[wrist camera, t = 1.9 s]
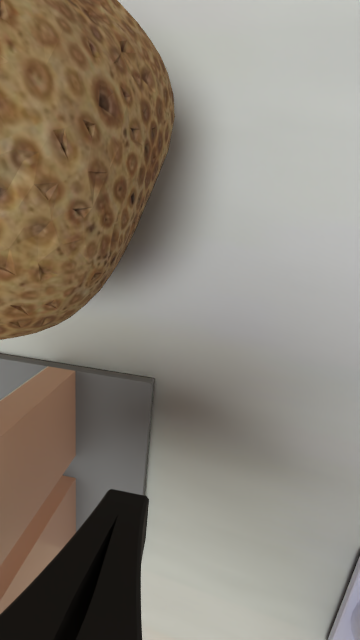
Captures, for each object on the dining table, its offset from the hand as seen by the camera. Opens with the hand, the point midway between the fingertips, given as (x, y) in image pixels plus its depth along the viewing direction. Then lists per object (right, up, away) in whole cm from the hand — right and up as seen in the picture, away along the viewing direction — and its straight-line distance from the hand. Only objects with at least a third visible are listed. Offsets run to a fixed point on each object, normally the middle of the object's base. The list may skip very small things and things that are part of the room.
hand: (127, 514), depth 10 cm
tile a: (-4, +2, +5) cm, 7 cm away
